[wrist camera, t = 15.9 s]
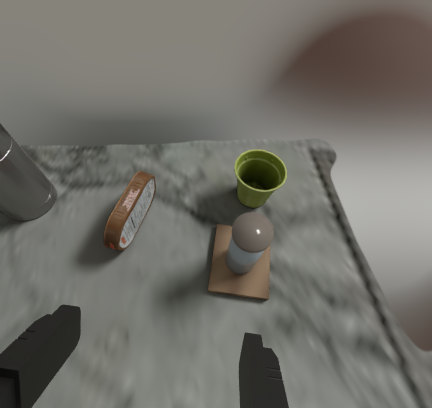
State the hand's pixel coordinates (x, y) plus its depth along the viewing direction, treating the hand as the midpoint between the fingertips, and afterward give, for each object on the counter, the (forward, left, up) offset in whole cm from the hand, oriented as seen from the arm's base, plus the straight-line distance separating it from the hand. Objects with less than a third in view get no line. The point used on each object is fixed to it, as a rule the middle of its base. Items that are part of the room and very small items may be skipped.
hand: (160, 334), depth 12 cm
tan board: (+7, +15, -31) cm, 35 cm away
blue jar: (+7, +15, -29) cm, 34 cm away
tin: (-13, +20, -31) cm, 39 cm away
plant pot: (+8, +29, -31) cm, 43 cm away
